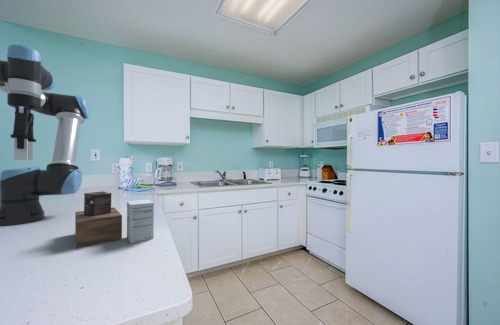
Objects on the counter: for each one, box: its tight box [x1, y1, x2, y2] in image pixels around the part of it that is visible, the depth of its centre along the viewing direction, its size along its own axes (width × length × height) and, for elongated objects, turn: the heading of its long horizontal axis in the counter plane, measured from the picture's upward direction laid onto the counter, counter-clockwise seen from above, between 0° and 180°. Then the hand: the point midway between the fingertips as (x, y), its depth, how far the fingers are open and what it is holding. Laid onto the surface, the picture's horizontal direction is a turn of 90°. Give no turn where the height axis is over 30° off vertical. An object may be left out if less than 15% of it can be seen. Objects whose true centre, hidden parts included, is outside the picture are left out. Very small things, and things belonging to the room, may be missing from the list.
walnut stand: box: [74, 207, 123, 249], centre depth 74 cm, size 16×12×8 cm
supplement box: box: [126, 199, 155, 244], centre depth 73 cm, size 7×7×13 cm
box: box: [83, 191, 112, 216], centre depth 74 cm, size 6×6×7 cm
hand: (24, 160), depth 69 cm, fingers open, 13 cm apart
